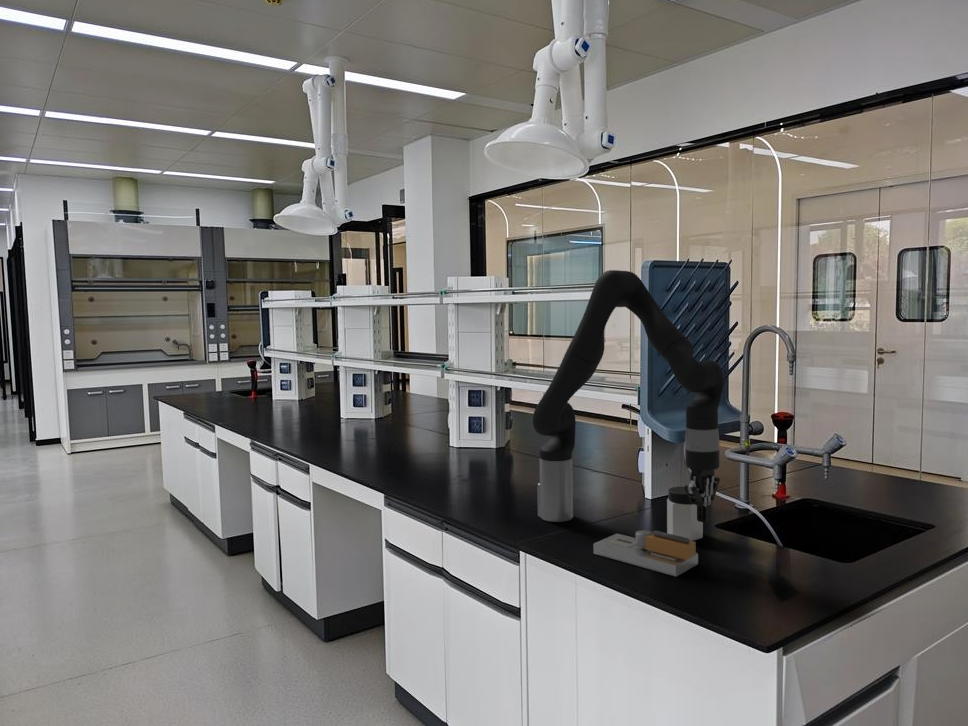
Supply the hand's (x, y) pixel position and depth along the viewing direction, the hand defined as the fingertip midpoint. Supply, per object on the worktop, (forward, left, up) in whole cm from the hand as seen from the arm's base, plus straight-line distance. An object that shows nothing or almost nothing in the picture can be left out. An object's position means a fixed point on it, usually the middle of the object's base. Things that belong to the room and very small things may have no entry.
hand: (702, 521), depth 159 cm
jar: (-12, +13, -10) cm, 20 cm away
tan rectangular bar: (-6, -8, -6) cm, 12 cm away
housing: (-11, -8, -9) cm, 16 cm away
